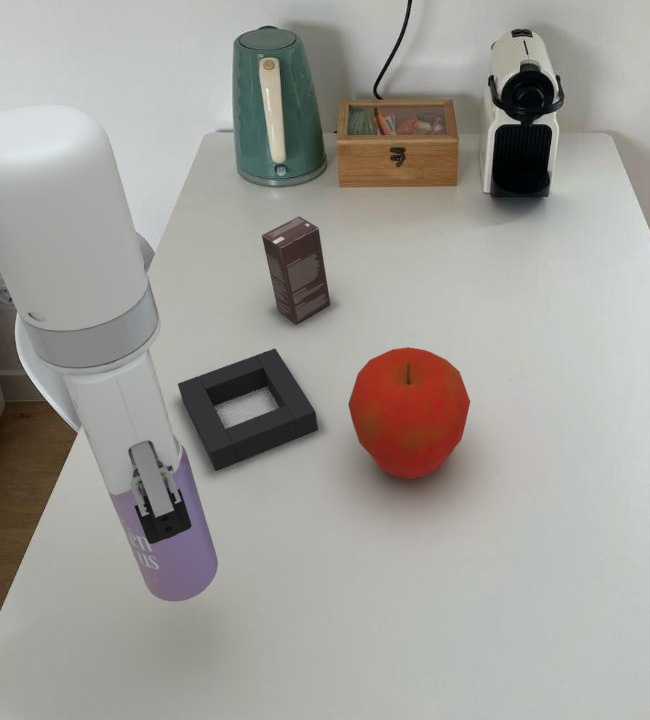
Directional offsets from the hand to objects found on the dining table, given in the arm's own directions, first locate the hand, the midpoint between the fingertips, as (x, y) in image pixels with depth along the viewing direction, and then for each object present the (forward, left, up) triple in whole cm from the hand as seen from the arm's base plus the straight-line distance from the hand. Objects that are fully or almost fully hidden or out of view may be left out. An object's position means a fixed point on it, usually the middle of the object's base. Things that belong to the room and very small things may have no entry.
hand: (156, 499), depth 61 cm
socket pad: (+13, +23, -18) cm, 32 cm away
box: (+26, +38, -19) cm, 49 cm away
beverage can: (0, 0, -10) cm, 10 cm away
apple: (+26, +8, -19) cm, 33 cm away
